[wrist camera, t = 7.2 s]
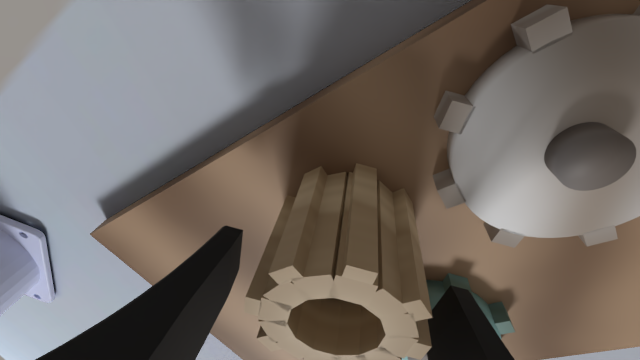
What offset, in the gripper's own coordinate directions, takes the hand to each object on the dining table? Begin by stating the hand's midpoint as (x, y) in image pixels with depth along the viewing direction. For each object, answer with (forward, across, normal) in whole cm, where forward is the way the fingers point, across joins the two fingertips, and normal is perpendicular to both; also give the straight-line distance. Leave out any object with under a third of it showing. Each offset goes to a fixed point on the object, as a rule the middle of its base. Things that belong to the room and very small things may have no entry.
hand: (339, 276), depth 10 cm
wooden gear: (+3, 0, 0) cm, 3 cm away
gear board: (+4, -3, +3) cm, 6 cm away
